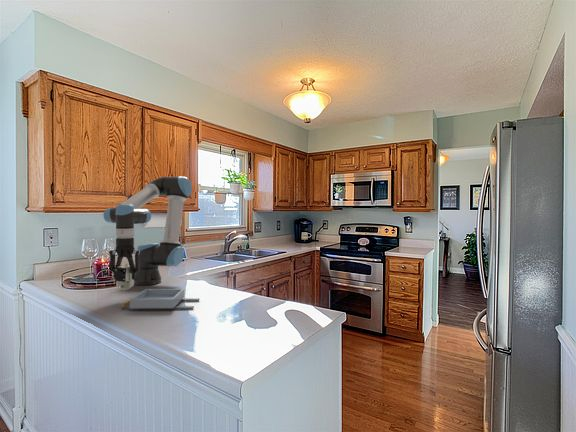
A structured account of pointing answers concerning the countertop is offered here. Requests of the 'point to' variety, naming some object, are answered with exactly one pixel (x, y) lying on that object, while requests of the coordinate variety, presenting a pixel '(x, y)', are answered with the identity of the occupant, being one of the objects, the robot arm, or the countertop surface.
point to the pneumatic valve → (123, 276)
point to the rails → (127, 307)
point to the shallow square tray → (157, 298)
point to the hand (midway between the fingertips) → (125, 286)
